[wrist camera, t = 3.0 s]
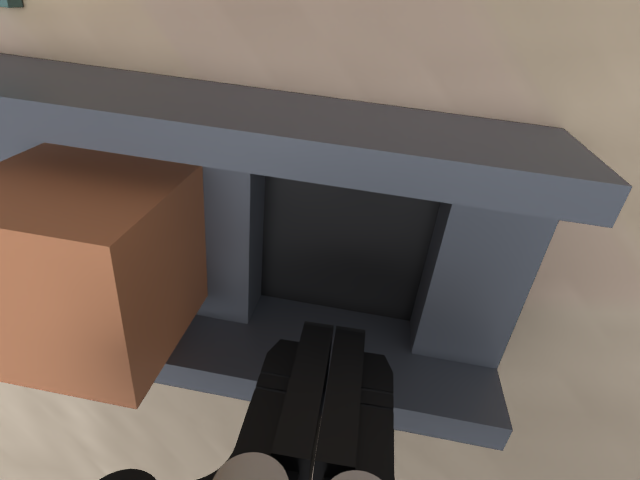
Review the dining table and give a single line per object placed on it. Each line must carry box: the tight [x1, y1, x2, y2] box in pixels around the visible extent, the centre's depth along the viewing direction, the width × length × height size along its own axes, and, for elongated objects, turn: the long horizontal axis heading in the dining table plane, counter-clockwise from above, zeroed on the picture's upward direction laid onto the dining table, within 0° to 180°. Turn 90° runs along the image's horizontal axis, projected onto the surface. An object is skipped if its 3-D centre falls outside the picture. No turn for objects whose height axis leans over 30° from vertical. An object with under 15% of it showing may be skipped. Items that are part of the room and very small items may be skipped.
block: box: [0, 143, 208, 409], centre depth 13 cm, size 5×5×5 cm
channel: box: [0, 53, 632, 451], centre depth 15 cm, size 28×9×4 cm, turn 84°
